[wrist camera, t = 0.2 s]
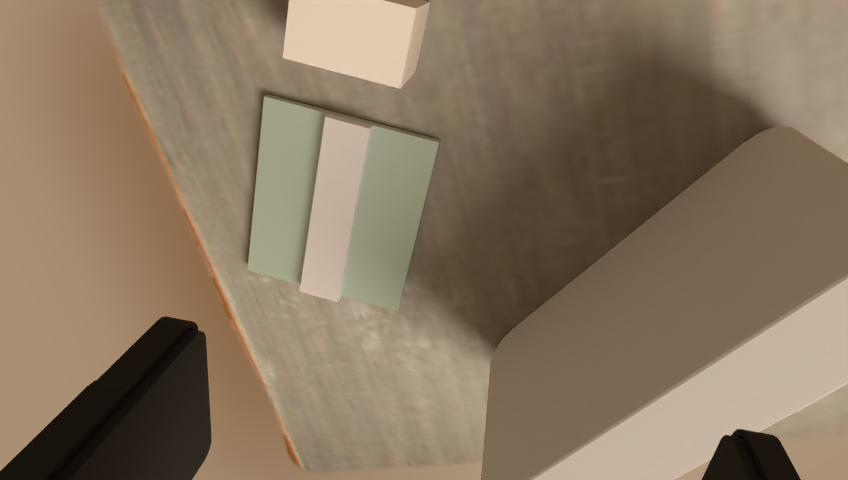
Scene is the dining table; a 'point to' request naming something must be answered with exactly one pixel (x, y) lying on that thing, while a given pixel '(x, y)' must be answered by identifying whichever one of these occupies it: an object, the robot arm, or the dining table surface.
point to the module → (358, 37)
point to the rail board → (337, 202)
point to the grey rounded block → (684, 327)
